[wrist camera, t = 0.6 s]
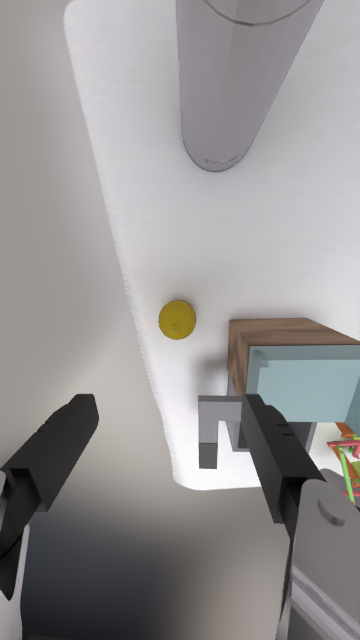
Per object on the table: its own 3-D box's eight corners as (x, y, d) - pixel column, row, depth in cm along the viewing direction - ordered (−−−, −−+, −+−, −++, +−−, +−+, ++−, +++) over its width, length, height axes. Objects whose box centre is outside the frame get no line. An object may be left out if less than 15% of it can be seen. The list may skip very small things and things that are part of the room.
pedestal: (229, 319, 28) (249, 345, 19) (306, 317, 28) (365, 343, 18) (227, 368, 31) (242, 410, 22) (296, 368, 31) (342, 411, 21)
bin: (228, 370, 32) (237, 393, 26) (300, 369, 31) (325, 393, 25) (225, 421, 35) (232, 451, 30) (288, 422, 35) (308, 453, 29)
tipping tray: (197, 346, 19) (199, 360, 17) (367, 344, 18) (401, 359, 15) (198, 459, 25) (200, 484, 22) (327, 463, 24) (346, 490, 21)
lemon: (173, 290, 27) (167, 299, 20) (201, 307, 28) (205, 322, 21) (157, 317, 29) (146, 335, 21) (184, 333, 30) (182, 355, 22)
